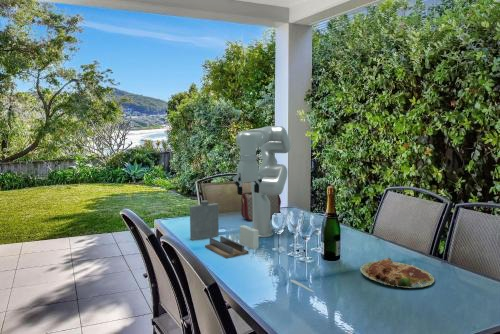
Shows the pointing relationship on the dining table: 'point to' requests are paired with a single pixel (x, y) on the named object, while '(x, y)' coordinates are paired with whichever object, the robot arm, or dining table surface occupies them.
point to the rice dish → (396, 273)
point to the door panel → (249, 237)
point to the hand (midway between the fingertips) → (248, 193)
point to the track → (226, 247)
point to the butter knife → (301, 285)
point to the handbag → (248, 205)
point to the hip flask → (204, 221)
